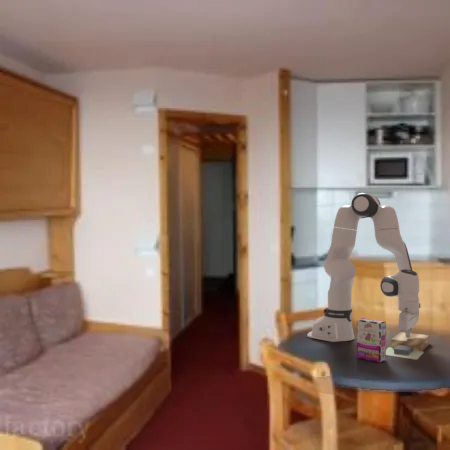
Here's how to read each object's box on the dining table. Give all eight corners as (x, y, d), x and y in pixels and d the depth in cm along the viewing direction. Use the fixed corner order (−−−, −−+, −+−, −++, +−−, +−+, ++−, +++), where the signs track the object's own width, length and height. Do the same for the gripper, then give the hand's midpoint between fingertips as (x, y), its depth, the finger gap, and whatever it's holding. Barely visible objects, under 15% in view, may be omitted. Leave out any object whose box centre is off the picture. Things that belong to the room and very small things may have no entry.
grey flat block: (393, 353, 237) (394, 348, 237) (399, 348, 245) (399, 344, 245) (408, 355, 234) (408, 350, 234) (413, 350, 242) (413, 345, 242)
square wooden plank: (391, 348, 247) (391, 339, 247) (400, 340, 261) (400, 332, 260) (421, 352, 240) (421, 343, 240) (429, 344, 254) (429, 335, 254)
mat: (380, 354, 236) (380, 354, 236) (389, 347, 247) (389, 347, 247) (416, 359, 229) (416, 359, 229) (423, 352, 240) (423, 351, 240)
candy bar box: (386, 360, 228) (386, 321, 227) (380, 363, 224) (380, 323, 224) (362, 355, 236) (362, 317, 235) (356, 357, 232) (356, 319, 231)
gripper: (409, 311, 236) (409, 343, 237) (421, 303, 253) (421, 333, 254) (394, 309, 239) (394, 341, 240) (407, 302, 257) (407, 331, 257)
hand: (408, 337), depth 247 cm, fingers closed
